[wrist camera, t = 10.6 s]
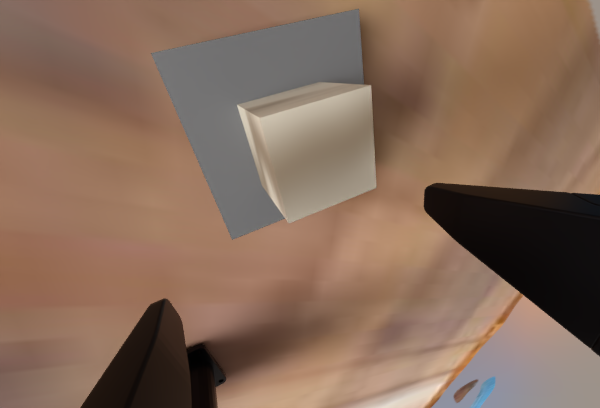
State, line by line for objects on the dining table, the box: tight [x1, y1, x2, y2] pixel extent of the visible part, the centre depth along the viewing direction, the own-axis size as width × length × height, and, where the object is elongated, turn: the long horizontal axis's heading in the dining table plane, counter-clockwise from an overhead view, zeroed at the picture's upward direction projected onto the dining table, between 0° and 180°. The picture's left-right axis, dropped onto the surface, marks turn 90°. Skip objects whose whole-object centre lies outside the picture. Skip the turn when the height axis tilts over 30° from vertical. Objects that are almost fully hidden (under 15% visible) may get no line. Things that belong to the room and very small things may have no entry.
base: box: [151, 9, 364, 240], centre depth 17 cm, size 11×11×3 cm
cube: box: [237, 82, 376, 223], centre depth 14 cm, size 5×5×5 cm
